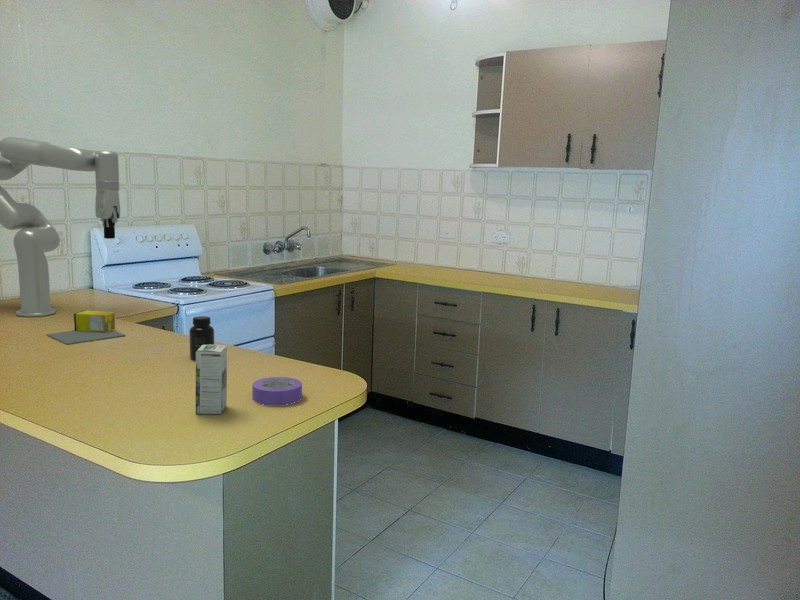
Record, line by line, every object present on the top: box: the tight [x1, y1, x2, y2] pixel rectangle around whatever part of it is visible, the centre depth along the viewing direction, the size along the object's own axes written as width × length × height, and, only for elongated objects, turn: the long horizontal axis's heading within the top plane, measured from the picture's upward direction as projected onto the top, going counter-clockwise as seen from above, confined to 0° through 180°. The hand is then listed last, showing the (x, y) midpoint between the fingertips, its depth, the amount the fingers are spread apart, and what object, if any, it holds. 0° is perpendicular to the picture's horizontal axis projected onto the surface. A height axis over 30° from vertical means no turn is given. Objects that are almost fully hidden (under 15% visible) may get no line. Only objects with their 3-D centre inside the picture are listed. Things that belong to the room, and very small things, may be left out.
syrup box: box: [195, 344, 228, 415], centre depth 138 cm, size 6×6×14 cm
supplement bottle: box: [188, 315, 215, 361], centre depth 180 cm, size 7×7×12 cm
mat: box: [45, 329, 126, 346], centre depth 200 cm, size 16×18×1 cm
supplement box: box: [73, 309, 116, 333], centre depth 206 cm, size 6×6×11 cm
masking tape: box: [251, 376, 303, 406], centre depth 149 cm, size 12×12×4 cm
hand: (109, 238), depth 224 cm, fingers closed
